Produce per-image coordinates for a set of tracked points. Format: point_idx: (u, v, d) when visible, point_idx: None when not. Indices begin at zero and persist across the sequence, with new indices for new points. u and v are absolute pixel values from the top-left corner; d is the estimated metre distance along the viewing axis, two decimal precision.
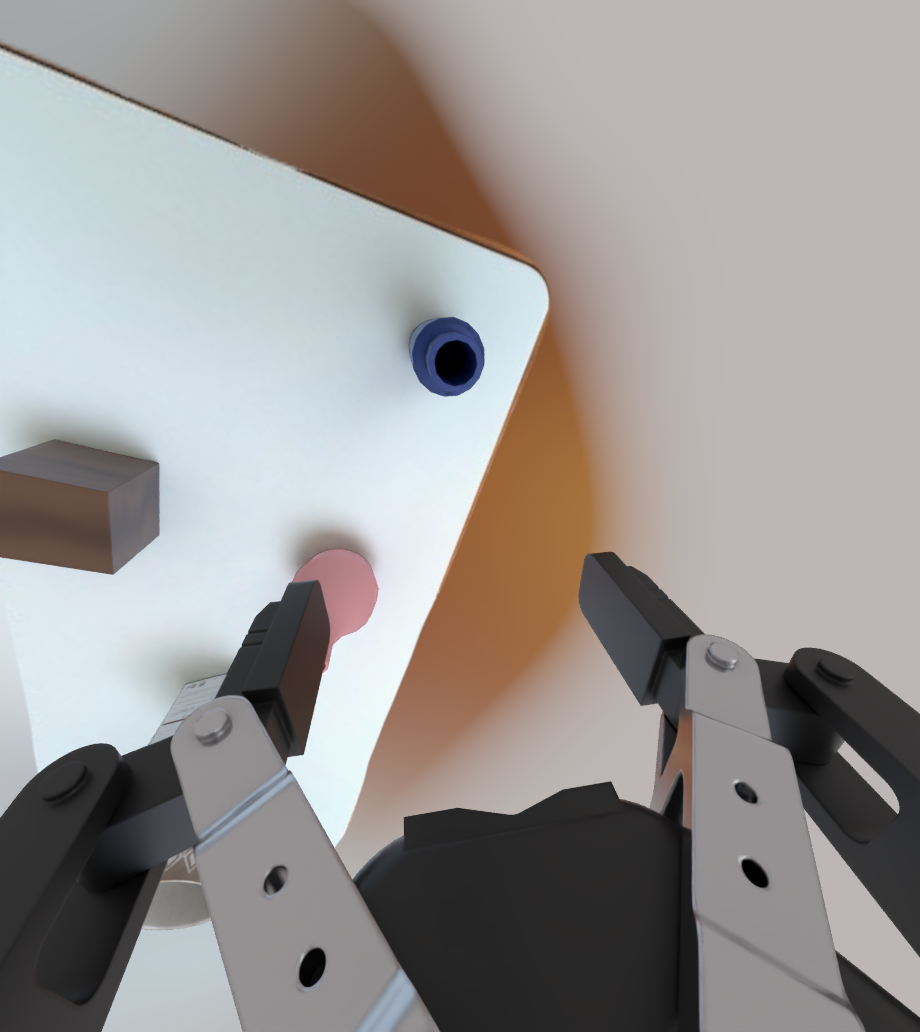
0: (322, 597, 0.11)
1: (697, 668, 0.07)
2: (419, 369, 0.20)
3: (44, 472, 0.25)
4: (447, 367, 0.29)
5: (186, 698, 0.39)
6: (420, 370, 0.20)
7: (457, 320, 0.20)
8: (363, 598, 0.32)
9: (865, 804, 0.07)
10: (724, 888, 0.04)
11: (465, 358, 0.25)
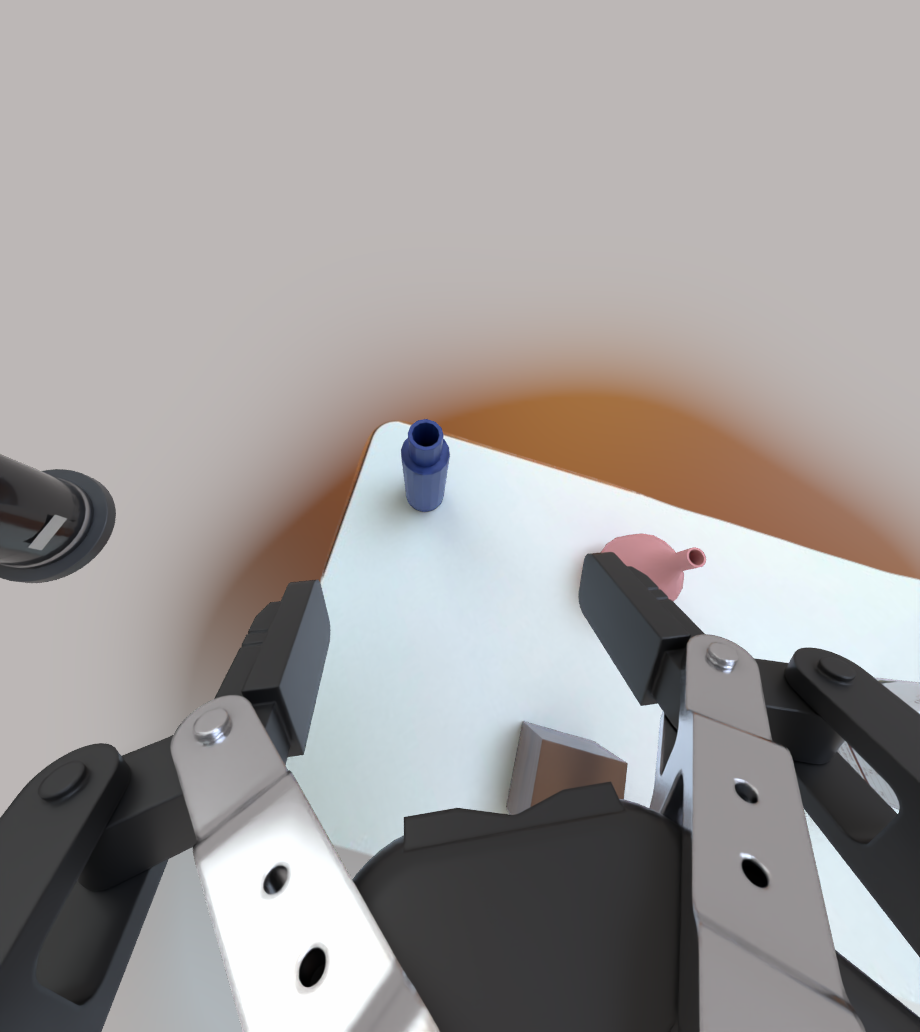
0: (322, 597, 0.11)
1: (697, 668, 0.07)
2: (432, 470, 0.30)
3: (528, 793, 0.28)
4: None
5: None
6: (433, 470, 0.30)
7: (402, 447, 0.31)
8: (634, 539, 0.34)
9: (865, 804, 0.07)
10: (724, 888, 0.04)
11: None
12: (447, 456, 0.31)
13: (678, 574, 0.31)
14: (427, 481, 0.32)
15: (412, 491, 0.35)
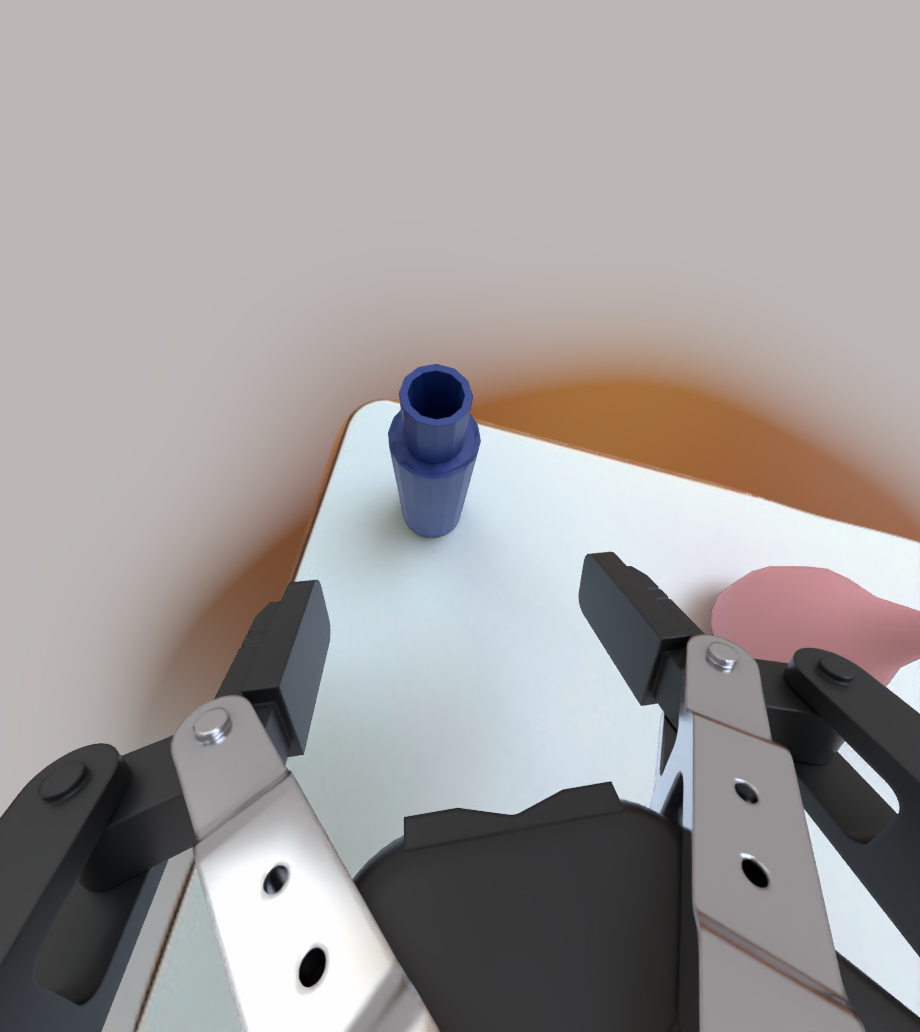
0: (322, 597, 0.11)
1: (697, 668, 0.07)
2: (449, 469, 0.16)
3: None
4: None
5: None
6: (451, 468, 0.16)
7: (391, 428, 0.16)
8: (801, 577, 0.20)
9: (865, 804, 0.07)
10: (724, 888, 0.04)
11: None
12: (476, 442, 0.16)
13: None
14: (439, 491, 0.17)
15: (412, 508, 0.20)
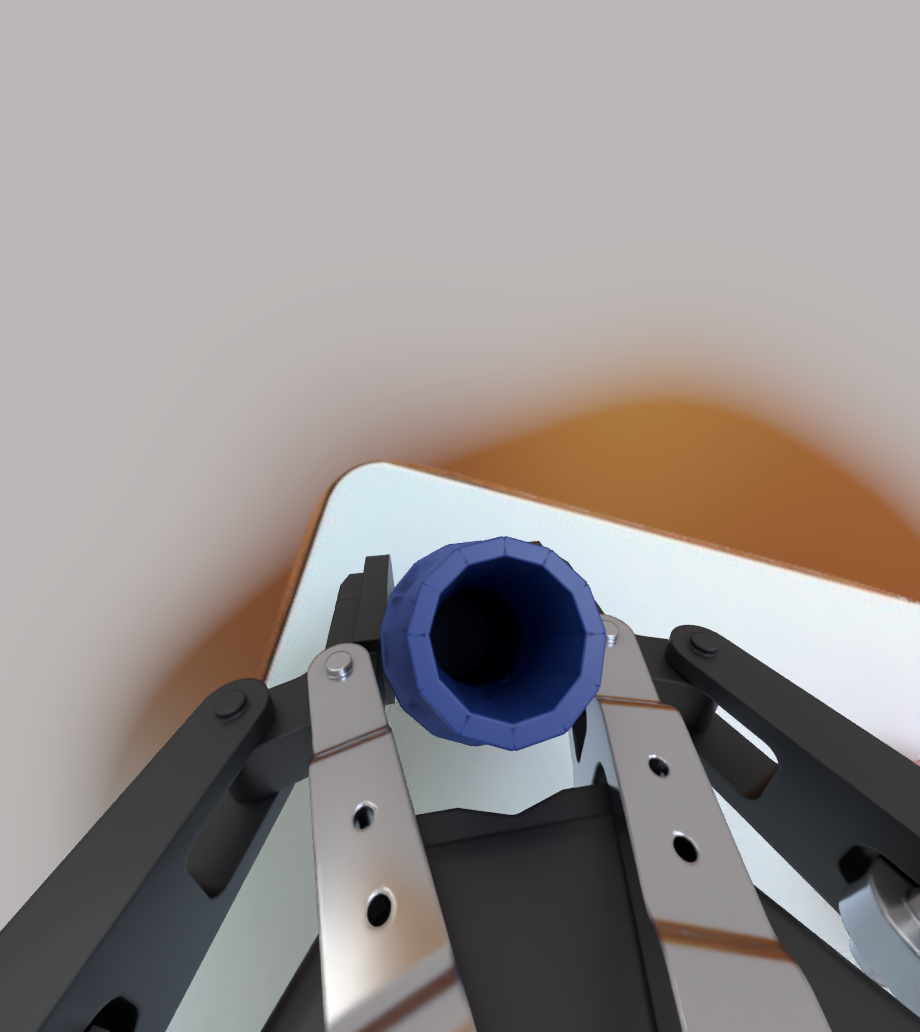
0: (391, 571, 0.12)
1: None
2: None
3: None
4: (478, 611, 0.17)
5: None
6: None
7: (386, 619, 0.08)
8: None
9: (743, 755, 0.07)
10: (667, 879, 0.04)
11: None
12: None
13: None
14: None
15: None
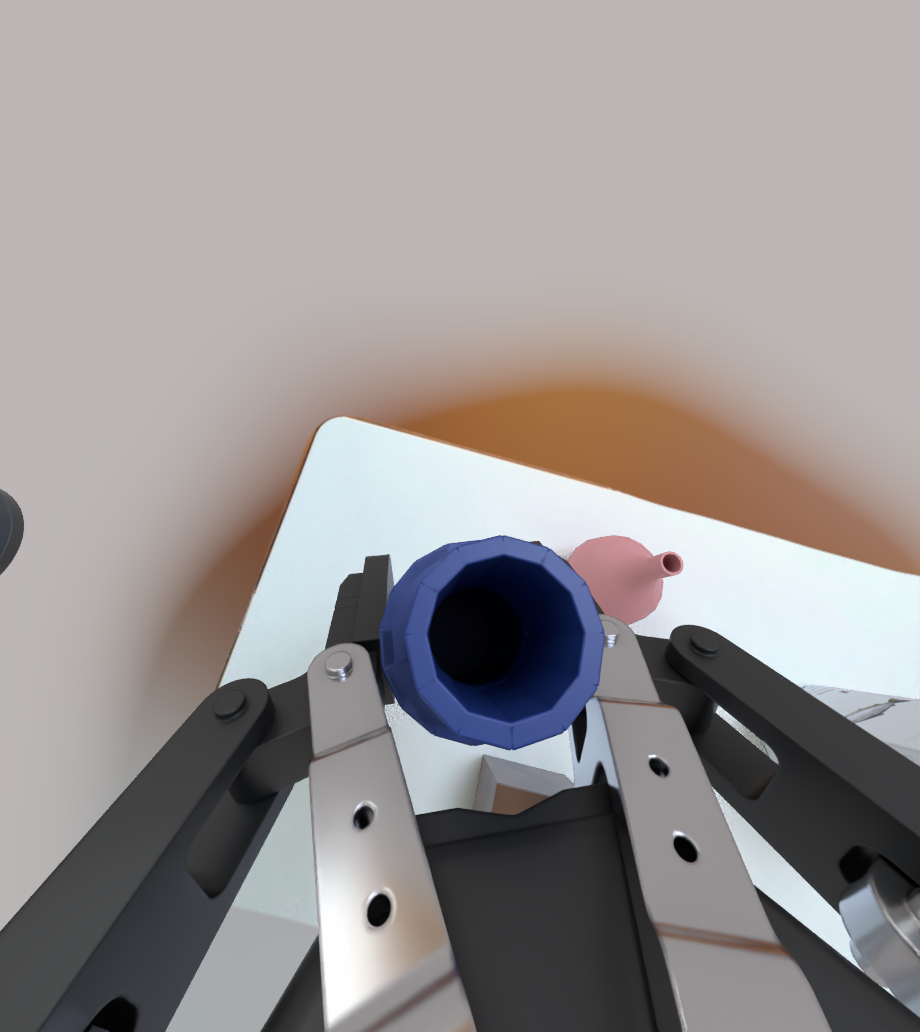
0: (391, 571, 0.12)
1: None
2: None
3: None
4: (478, 611, 0.17)
5: None
6: None
7: (385, 618, 0.08)
8: (605, 542, 0.30)
9: (743, 755, 0.07)
10: (667, 879, 0.04)
11: None
12: None
13: (653, 582, 0.26)
14: None
15: None
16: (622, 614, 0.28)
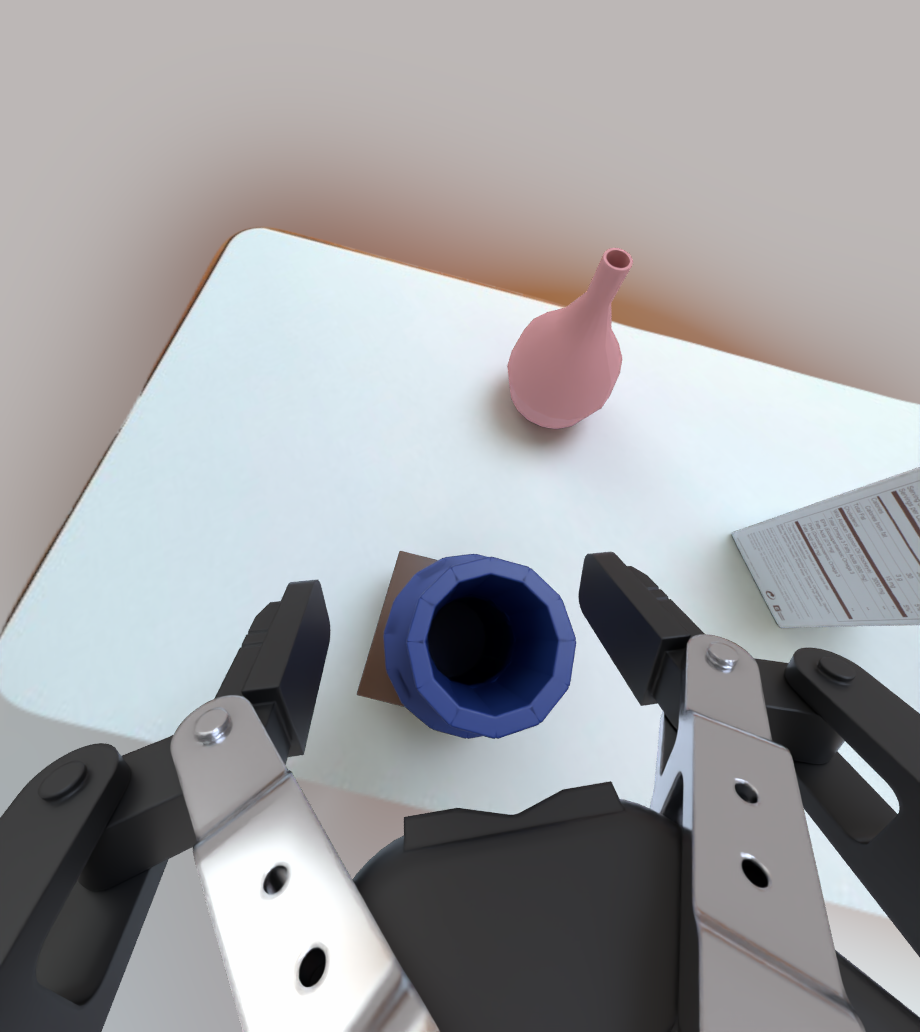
0: (322, 597, 0.11)
1: (697, 668, 0.07)
2: None
3: None
4: (475, 614, 0.18)
5: (798, 605, 0.24)
6: None
7: (389, 625, 0.09)
8: (551, 311, 0.25)
9: (865, 804, 0.07)
10: (724, 888, 0.04)
11: None
12: None
13: (602, 318, 0.21)
14: None
15: None
16: (569, 382, 0.23)
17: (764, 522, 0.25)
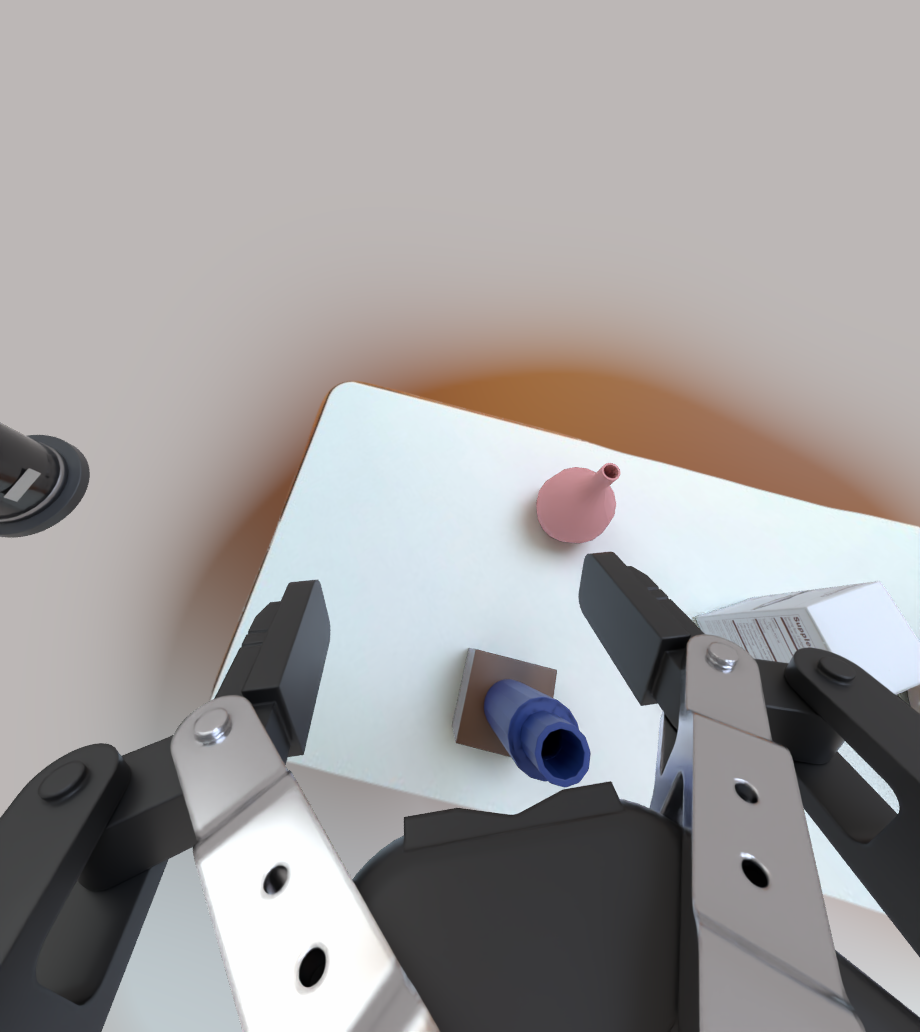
0: (322, 597, 0.11)
1: (697, 668, 0.07)
2: None
3: (463, 700, 0.30)
4: None
5: None
6: None
7: (509, 731, 0.20)
8: (567, 471, 0.36)
9: (865, 804, 0.07)
10: (724, 888, 0.04)
11: None
12: None
13: (601, 494, 0.33)
14: None
15: None
16: (580, 526, 0.35)
17: (714, 615, 0.36)
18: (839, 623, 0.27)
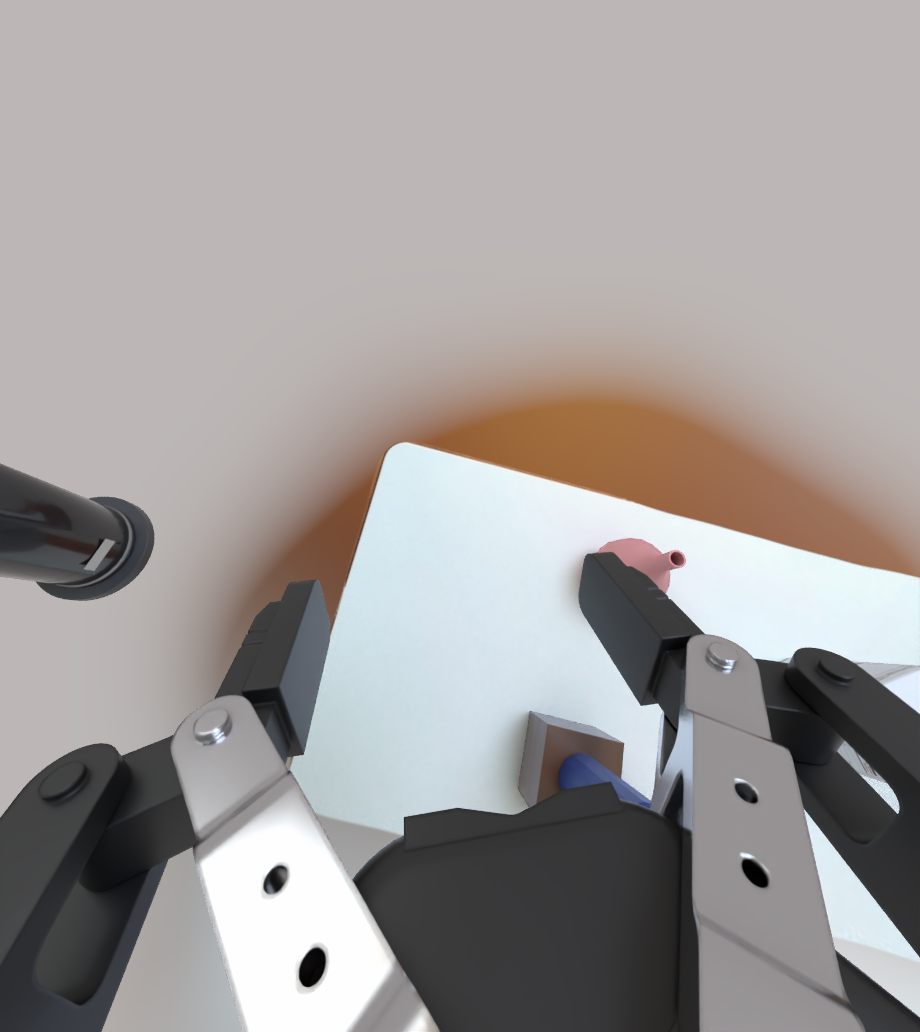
0: (322, 597, 0.11)
1: (697, 668, 0.07)
2: None
3: (537, 772, 0.32)
4: None
5: None
6: None
7: None
8: (624, 543, 0.38)
9: (865, 804, 0.07)
10: (724, 887, 0.04)
11: None
12: None
13: (663, 574, 0.34)
14: None
15: None
16: None
17: None
18: None
